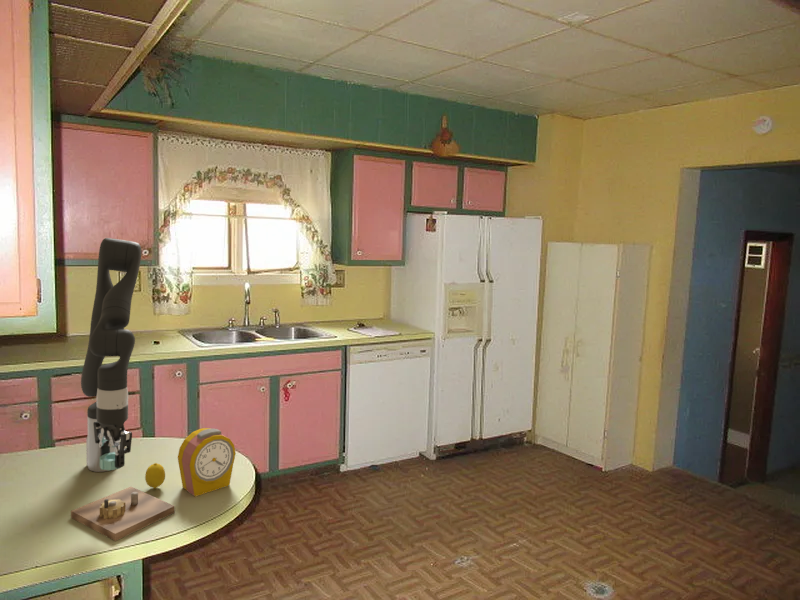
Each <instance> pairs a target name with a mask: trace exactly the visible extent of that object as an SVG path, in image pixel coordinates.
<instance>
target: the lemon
mask: <svg viewBox="0 0 800 600" xmlns="http://www.w3.org/2000/svg"><path fill="white" fill-rule="evenodd" d="M144 479H145V483H146V484H147V486H149V487H150V488H153V489H157V488H158V487H161V486H162V485H163V483H164V482H165V479H166V470H165V468H164V467H163V465H162V464H160V463H157V462H154V463H153V464H151V465H149V466H148V467H147V468H146V471H145V476H144Z"/></svg>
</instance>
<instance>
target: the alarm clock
mask: <svg viewBox="0 0 800 600" xmlns="http://www.w3.org/2000/svg"><path fill="white" fill-rule="evenodd" d="M235 457H236V448H235V444H234V442H233V441H232V440H231V438H229V437H227V436H225V435H224V434H223V433H222V430H220V429H218V428H210V427H208V428H207V427H202V428H199V429H196V430H194V431H192V432H191V433H190V434H189V435H187V436H186V438H185V437H184V440H183V441H182V443H181V445H180V447H179V449H178V454H177V462H178V467H179V474H180V480H181V485H182V488H183V489H184V490H186V491H187V492H188V493H190V495H192V496H193V497H198V496H200V495H203V494H204V495H205V494H207V492H208V493H210V492H213V490H214V491H216V489H217V490H220V489H223V488H226V487H229V486H230V483H231V478H232V473H233V468H234V467H233V466H234V463H235V459H236V458H235ZM228 485H229V486H228ZM225 486H226V487H225ZM222 487H223V488H222ZM219 488H220V489H219Z"/></svg>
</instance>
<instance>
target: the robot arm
mask: <svg viewBox="0 0 800 600" xmlns="http://www.w3.org/2000/svg"><path fill="white" fill-rule="evenodd" d="M97 259H98V260H97V273H96V274H97V275H96V287H95V294H94V301H93V305H92V306H93V307H92V312H91V320H90V330H89V338H88V344H87V350H86V354H85V359H84V363H83V366H82V367H83V368H82V372H81V377H80V386H81V387H80V388H81V391H82V393H83V394H84V395H85V397H89V398H91V397H96V402H93V403H91V404H90V405H89V406H88V407H87V412H86V413H87V414H86V415H87V437H86V466H87V469H88V470H89V471H91V472H99V473H101V472H108V471H110V470H104V469H103V470H102V469H101V468H100V456H102V455H104V454H106V453H113V452H115V454H116V455H115V467H116V468H119V469H121V468H123V467H125V465H124V457H125V458H126V456H125V454H128V453H131V450H132V442H133V441H132V438H133V433H132V431H126V428H125V422H126V421H127V420H128V418H129V391H128V369H129V363H130V360H131V356H132V353H133V350H134V348H135V344H136V343H135V342H136V338H135V335H134V333H133V331H131V330H130V329H125V328H126V327H128V325H129V323H130V318H131V310H132V309H131V307H132V299H133V295H134V291H135V287H136V284H137V279H138V275H139V272H140V265H141V259H142V247H141V245H140V243H139V242H136V241H132V240H125V239H118V238H111V237H105V238H103V239H102V241H101V243H100V245H99V250H98V258H97ZM110 271H114V272H115V271H116V272H122V273H125V274H124V276H123V277H122V278H121V279H120V280H119V281H118V282H117V283H115V285H114V284H113V281H112V278H111V274H110ZM106 357H119V358H118V360H117V361H114V362H110V363H106V364H103V362H104V360H105V358H106ZM120 467H121V468H120Z"/></svg>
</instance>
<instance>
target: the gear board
mask: <svg viewBox="0 0 800 600" xmlns="http://www.w3.org/2000/svg"><path fill="white" fill-rule="evenodd" d="M175 511H176V510H175V505H173V504H172V503H169V502H166V501H164V500H162V499H160V498H158V497H155V496H153V495H151V494H149V493H147V492H144V491H142V490H140V489H137V488H136V487H133V486H128V487H126V488H123V489H121V490H119V491H116V492H114V493H112V494H109V495H107V496H104V497H101V498H99V499H96V500H94V501H92V502H90V503H87V504H85V505H82V506H80V507H77V508H75V509H72V510H71V511H70V518H71V519H72V520H74V521H76V522H79V523H80V524H81V525H84V526H86V527H88V528H89V529H91V530H94V531H95V532H97V533H99V534H101V535H102V536H105V537H106V536H107V537H106V538H108V539H110V540H112V541H114V542H116V541H119V540H120V539H123V538H124V537H125V538H126V537H127V536H129V535H131V534H133V533H135V532H137V531H139V530H141V529H143V528H145V527H148V526H149V525H151V524H152V525H153V524H155V523H156V522H158V521H160V520H162V519H165V518H166V517H168V516H171V515H172V514H175Z"/></svg>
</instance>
